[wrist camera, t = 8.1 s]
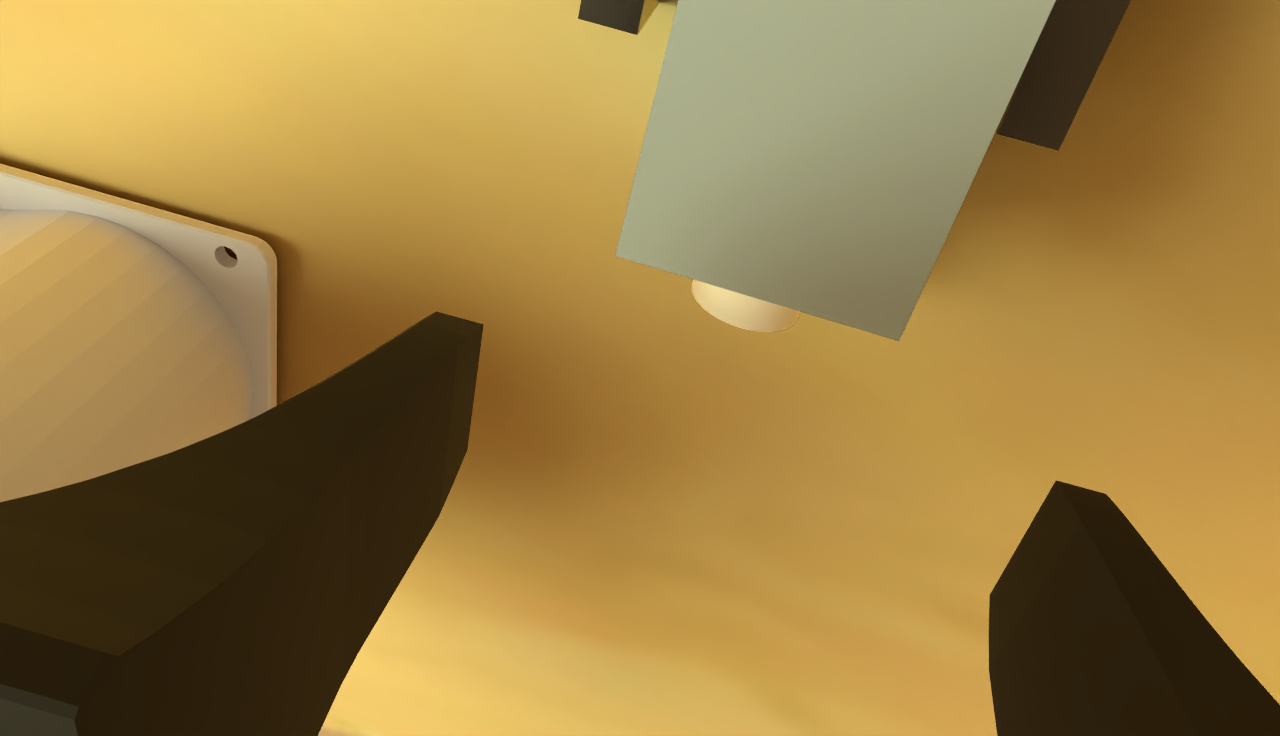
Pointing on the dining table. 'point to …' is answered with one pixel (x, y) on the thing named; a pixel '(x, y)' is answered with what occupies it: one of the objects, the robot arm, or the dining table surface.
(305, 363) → the dining table surface
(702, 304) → the grey block
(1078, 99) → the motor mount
